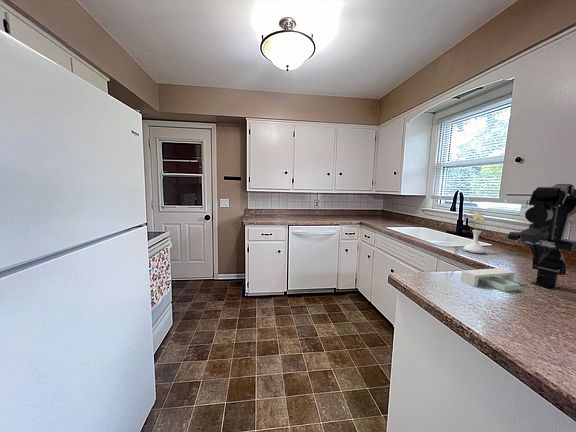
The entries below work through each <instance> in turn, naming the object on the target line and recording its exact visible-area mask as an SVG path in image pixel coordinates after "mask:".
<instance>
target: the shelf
mask: <svg viewBox="0 0 576 432" xmlns="http://www.w3.org/2000/svg"><path fill="white" fill-rule="evenodd" d="M492 276H496V277H499V278H502V279H505V280H508V281H511V282H514V283H515V281H514V280H515V276H516V272H514V271H512V270H508V269H505V268H502V267H498V268H495V267H494V268H483V269H482V268H480V269H469V270H468V269H467V270H461V275H460V282H461V281H462V282H461V283H463V282H464V284H466V285H468V284H469V286H472V287H478V284H479V285H481V286H487V285H486V282H485V281H483V280H480V279H479V277H492Z"/></svg>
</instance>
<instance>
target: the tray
mask: <svg viewBox="0 0 576 432" xmlns="http://www.w3.org/2000/svg"><path fill="white" fill-rule="evenodd" d="M479 279H480V280H483V281H485V282H486V286H487V287H490V288H492V289H494V290H495V289H496V290H497V291H501V292H503V293H508V292H516V291H519V290H520V284H519V283H517V282H515V281H514V282H511V281H508V280H505V279H502V278H499V277H496V276H492V277H479Z"/></svg>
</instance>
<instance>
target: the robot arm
mask: <svg viewBox="0 0 576 432" xmlns="http://www.w3.org/2000/svg"><path fill="white" fill-rule="evenodd" d="M528 206H532V207H530V208H528V209H527V210H526V211H525V213H524V216H525V220H527V222H530V224H529V227H528V228H525V229H523V230H521V231H510V232H508V234H507V237H506V238H507V239H508V240H512V241H517V240H520V241H521V242H523V244H524V245H526V246H527V247H528V248H529V249H530V251H531V253H532V256H533V258H532V268H531V269H532V270H537V273H536V280H535V281H530V283H531V284H533V285H537V286H540V287H543V288H546V289H550V290H553V289H554V290H555V289H561V286H560V285H557V281H558V276H559V275H560V276H562V275H563V276H566V274H567V264H566V260H565V259H564V255H563V253H562V251H561V250H563V251H564V250H565V251H571V252H573V251H576V240H570V239H564V237H565V234H566V230H567V227H568V224H569V220H570V217H572V216H573V215H575V214H576V189H575V185H574V184H571V183H556V184H554V185H552V186H538V187H536V188H535V189H534V190H533V191H532V194H531V197H530V199H529V202H528Z"/></svg>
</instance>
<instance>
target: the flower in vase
mask: <svg viewBox="0 0 576 432" xmlns="http://www.w3.org/2000/svg"><path fill="white" fill-rule="evenodd" d="M484 216H485V215H484ZM484 216H483V215H482V214H481V213H480V212H475V213H473V214H472V218H473V219H474V221H475V222H474V223H473V224H472V223H471V225H470V227H471V228H473V229H472V230H471V231H472V233H473V240H472V242H470V243H469V244H466V245H465V246H464V247H463V250H464V251H466V252H469V253H473V254H483V253H484V254H485V253H486V251H487V250H486V249H485V248H484V247H483V246H482V245H481V244H480V243H479V236H480V234H481V233H482V232H483V231H482V230H477V229H478V228H481V227H482V225H483V224H485V221H486V220H485V217H484ZM476 223H479V224H481V225H480V226H477V227H476Z"/></svg>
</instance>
